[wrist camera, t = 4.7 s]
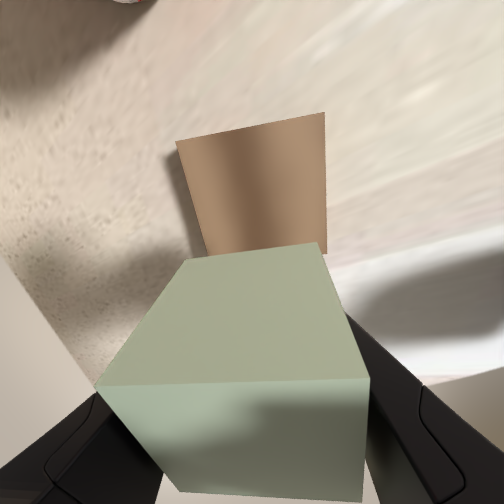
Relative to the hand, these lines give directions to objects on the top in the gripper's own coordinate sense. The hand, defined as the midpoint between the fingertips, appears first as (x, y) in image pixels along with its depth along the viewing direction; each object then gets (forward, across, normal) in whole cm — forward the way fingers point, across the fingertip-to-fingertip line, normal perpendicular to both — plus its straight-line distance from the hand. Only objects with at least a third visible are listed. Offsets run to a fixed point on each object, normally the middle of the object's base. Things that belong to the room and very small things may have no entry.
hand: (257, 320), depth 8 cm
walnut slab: (+12, 0, -2) cm, 12 cm away
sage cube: (+1, 0, 0) cm, 1 cm away
